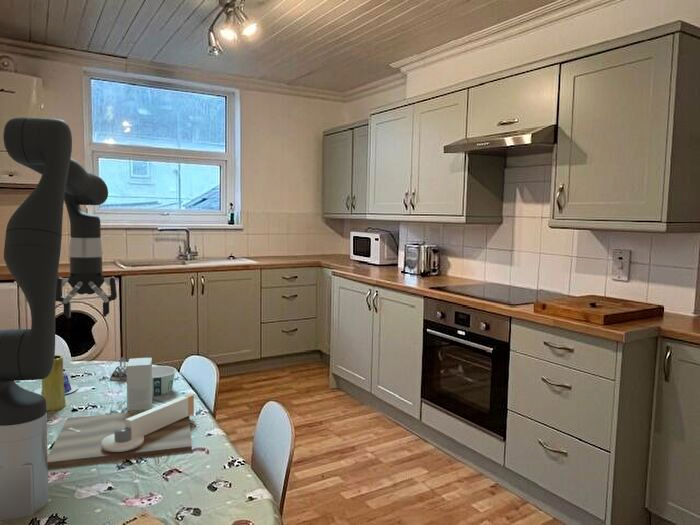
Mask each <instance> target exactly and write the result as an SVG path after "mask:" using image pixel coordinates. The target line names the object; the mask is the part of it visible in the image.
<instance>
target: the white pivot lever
mask: <svg viewBox="0 0 700 525" xmlns="http://www.w3.org/2000/svg"><path fill="white" fill-rule="evenodd" d="M141 412H142V411H141ZM194 414H195V394H190V393H187V394H185V395H183V396H181V397H178V398H175V399H172V400H170V401H168V402H164V403H163V404H160V405H157V406H155V407H153V408H152V407H151V409H146V410H145V412H142V413H140V414H137V415H135V416H132V417H130V418H127V419H125V422H126V427H121V428H118V429H116V430H115V431H114V434H112V435H109V436H107V437H105V438H104V439H103V440H102V449H103V450H105V451H108V452H124V451H129V450H132V449H135V448H137V447H139V446H141V445H142V444H143V443H144V436H145V435H147V434H149V433H151V432H154V431H156V430H158V429H160V428H162V427H165V426H167V425H169V424H171V423H174V422H176V421H178V420H180V419H182V418H185V417H187V416H189V417H190V416H192V415H194Z"/></svg>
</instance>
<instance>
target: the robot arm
mask: <svg viewBox="0 0 700 525" xmlns="http://www.w3.org/2000/svg"><path fill="white" fill-rule="evenodd" d="M2 138H3V145H4V148H5V150H6V152H7V154H8V156H9V157H10V158H11V159H12V160H13V161H14V162H16V163H18V164H20V165H22V166H23V167H26V168H28V169H31V170H32V171H34V172H36V173H38V174H39V175H41V176H40V179H39V181H38V183H37V185H36V186H35V188H34V189H33V191H32V192H31V193H30V194H29V195H28V196H27V197H26V198H25V200H24V201H23V202H22V203H21V204H20V205H19V206H18V208H17V209H15V211H14V212H13V213H12V215H11V216H10V218H9V220H8V222H7V224H6V229H5V237H4V245H3V246H4V248H3V260H4V263H5V265H6V267H7V269H8V270H9V272H10V274H11V276H12V277H13V279H14V281H15V282H16V284H17V285H18V287H19V289H21V292H22V294H24V297H25V299H26V301H27V304H28V306H29V309H30V310H29V311H30V318H31V320H30V321H31V322H30V323H31V326H30V328H25V329H23V328H20V329H18V328H16V329H14V328H13V329H0V521H6V520H8V521H9V520H14V519H21V518H27V517H33V516H34V515H35V513H37V512H39V511H40V510H42V509H43V508H45V506H46V505H47V504H48V503H49V501H50V500H49V497H50V496H49V494H50V493H49V468H48V455H49V454H48V452H49V451H48V420H47V419H48V413H47V412H48V411H47V409H46V400H45V398H44V397H43V396H42V395H40V394H37V393H34V391H30V390H27V389H26V388H24V387H22V386H20V385H19V384H17V383H16V381H17V382H18V381H40V380H42V379H45V378H46V377H47V376H48V375H49V374H50V372H51V370H52V367H53V363H54V357H55V355H56V307H57V306H56V305H57V303H56V302H59V303H62V304H63V315H64V316H65V317H66V318H67V319H70V318H72V317H71V316H72V311H71V310H72V306H71V305H72V303H71V302H70V301H71V300H72V299H73V297H74V296H75V295H76V294H77V295H78V294H79V295H86V294H87V295H93V294H97V296H98V297H99V298H100V299H101V300H102V301H103V302H102V317H104V318H105V317H107V316H108V315H109V314H110V302H111V301H115V300H116V299H117V297H118V294H117V281H116V277H115V276H110V277H104V275H103V245H102V235H101V234H102V233H101V219H100V217H99V216H98V215H94V214H90V213H87V212H84V211H83V210H82V208H81V205H82V206H100V205H102V204H104V203H106V201H107V199H108V197H109V196H108V195H109V189H108V186H107V184H106V181H104V180H103V178H101V177H100V176H98V175H96V174H95V173H92V172H90V171H88V170H86V169H85V168H84V167H83V166H82V165H81V164H80V162H78V161H77V160H75V159H74V158H72V152H73V139H72V138H73V134H72V131H71V128H70V125H69V124H68V123H67V122H66V121H65V120H63V119H59V118H51V117H49V118H47V117H30V116H29V117H27V116H26V117H22V116H21V117H14V118H11V119H9V120H8V121H7V122H6V123H5V125H4V128H3V136H2ZM64 204H65V207H66V210H67V211H66V212H67V214H68V218H69V224H70V226H69V227H70V240H69V241H70V242H69V277H67V278H65V277H64V278H63V277H60V276H59V277H58V274H59V266H60V257H61V249H62V238H63V237H62V236H63V215H64ZM104 282H105V283H106V284H107V286H109V288H110V295H108V294H107V293H106V292H105V291H104V290H103V288H102V286H103V284H104ZM67 283H68V284H69V285H70V287H71V288H72V289H71V290H70V292H68V293H67V295H66V296H63V287H65V286H67Z"/></svg>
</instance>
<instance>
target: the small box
mask: <svg viewBox="0 0 700 525" xmlns="http://www.w3.org/2000/svg"><path fill="white" fill-rule="evenodd" d="M152 366H153V357H136V358H129V359H128V362H127V364H126V368H127V370H126V371H127V381H126V406H127V408H126V409H127V410H126V411H127V412H128V411H130V412H131V411H132V412H133V411H142V410H150V409H152V405H153V396H152ZM126 368H125V369H126Z"/></svg>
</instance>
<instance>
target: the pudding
mask: <svg viewBox="0 0 700 525" xmlns="http://www.w3.org/2000/svg"><path fill="white" fill-rule="evenodd" d="M63 376H64V394H65V395H68V394H70V393H71V394H72V393H73V392H75V391H77V390H78V389H79V386H78V385H77V384H74V383H70V379H69V377H68V375H67V374H66V373H64V372H63ZM33 392H34V393H37V394H40V395H42V386H41V387H38V388H36V389H35V390H34V391H33Z"/></svg>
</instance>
